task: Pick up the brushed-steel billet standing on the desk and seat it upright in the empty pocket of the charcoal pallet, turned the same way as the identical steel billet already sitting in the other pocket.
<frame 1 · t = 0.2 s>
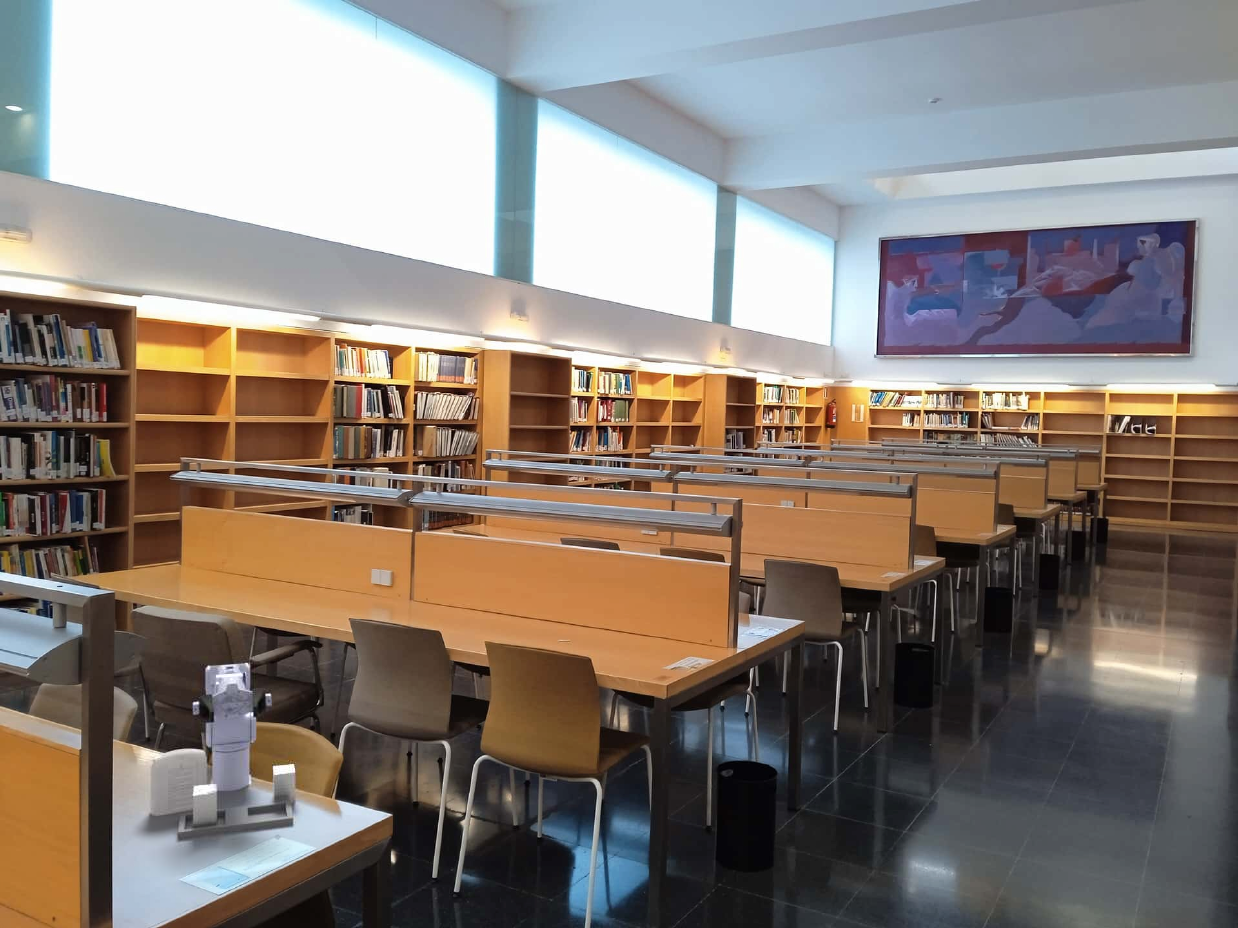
hand: (233, 714, 186), 21 cm above the table, tool horizontal, fingers open, 7 cm apart
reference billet: (205, 825, 183), resting on pallet
billet: (283, 803, 197), on the table
white tombstone slab: (179, 813, 192), on the table
pallet: (236, 826, 185), on the table
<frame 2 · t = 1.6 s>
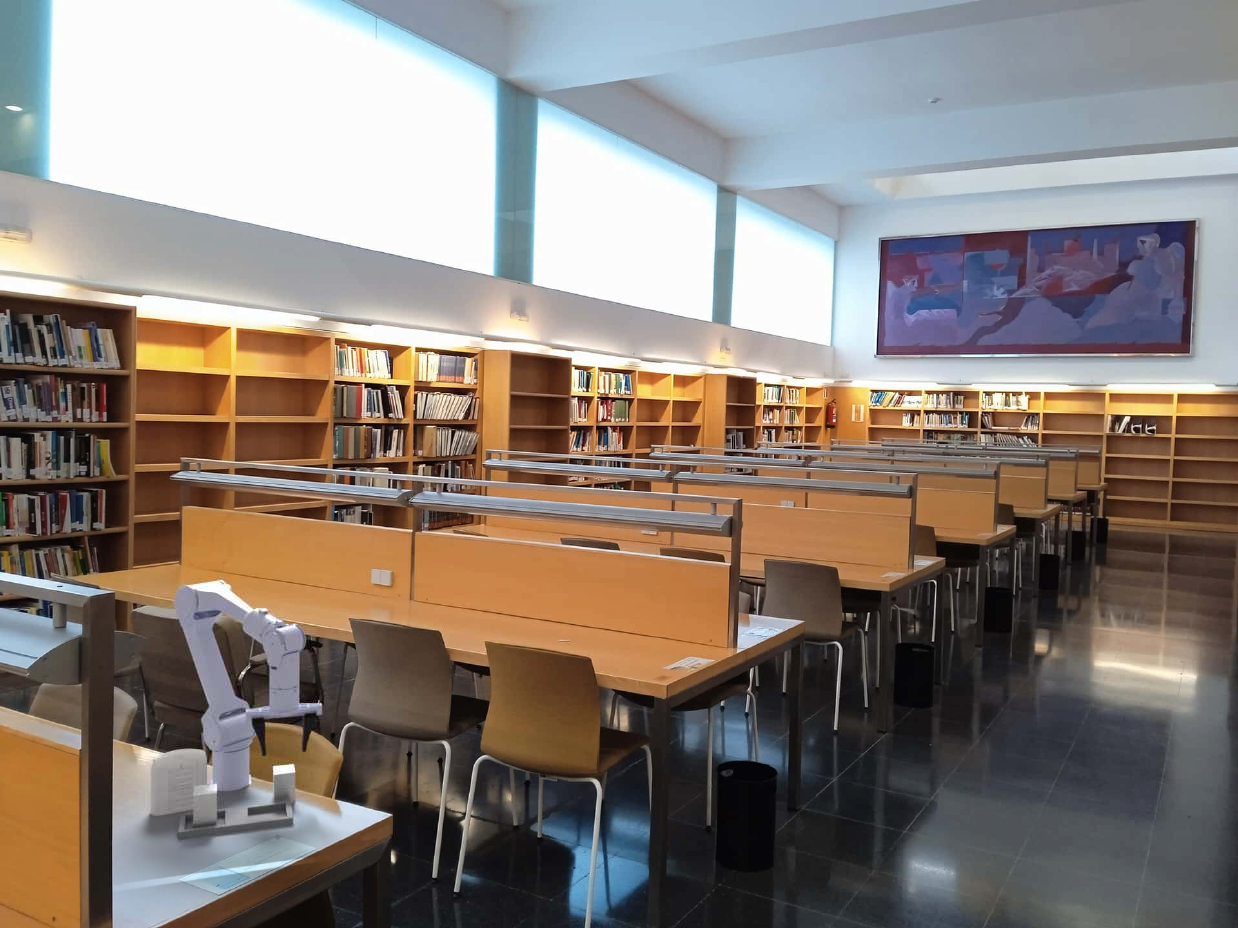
hand: (284, 752, 197), 10 cm above the table, tool pointing down, fingers open, 7 cm apart
nothing on the table moved.
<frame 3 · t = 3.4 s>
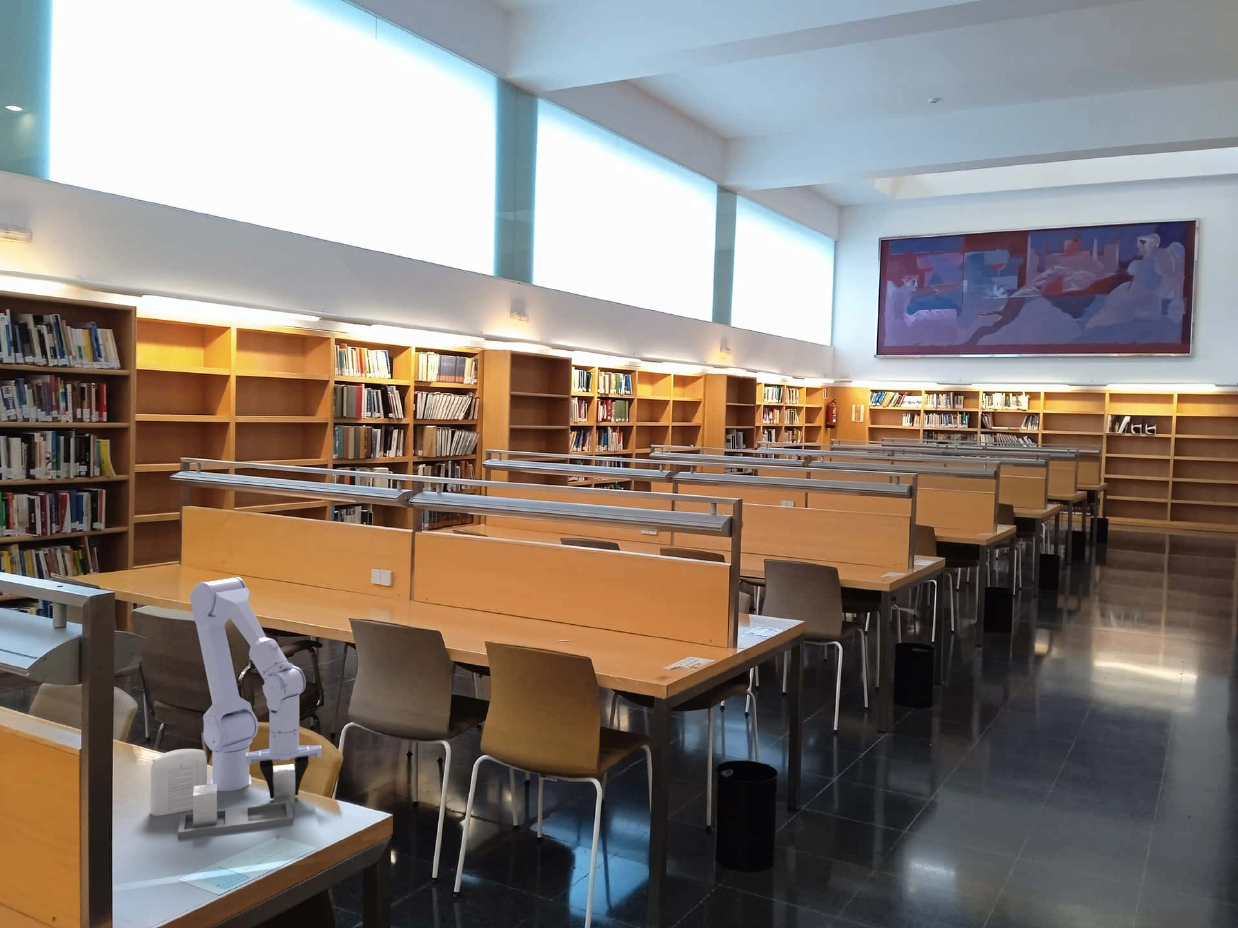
hand: (283, 795, 197), 2 cm above the table, tool pointing down, fingers closed on billet, 4 cm apart
billet: (283, 802, 197), on the table, touching gripper
everything else where it was.
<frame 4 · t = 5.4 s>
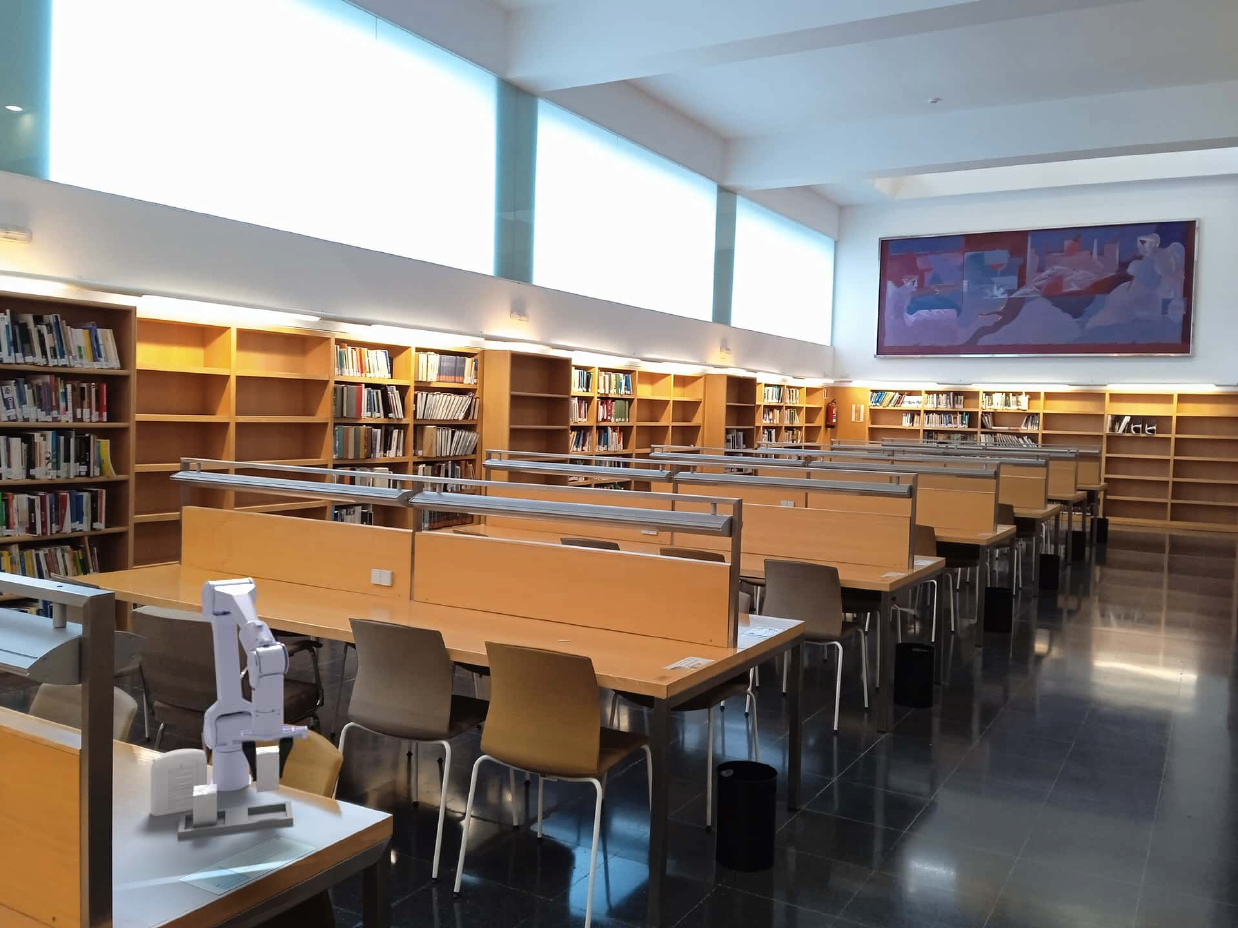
hand: (267, 778, 187), 9 cm above the table, tool pointing down, fingers closed on billet, 4 cm apart
billet: (267, 786, 187), point 7 cm above the table, touching gripper
everything else where it was.
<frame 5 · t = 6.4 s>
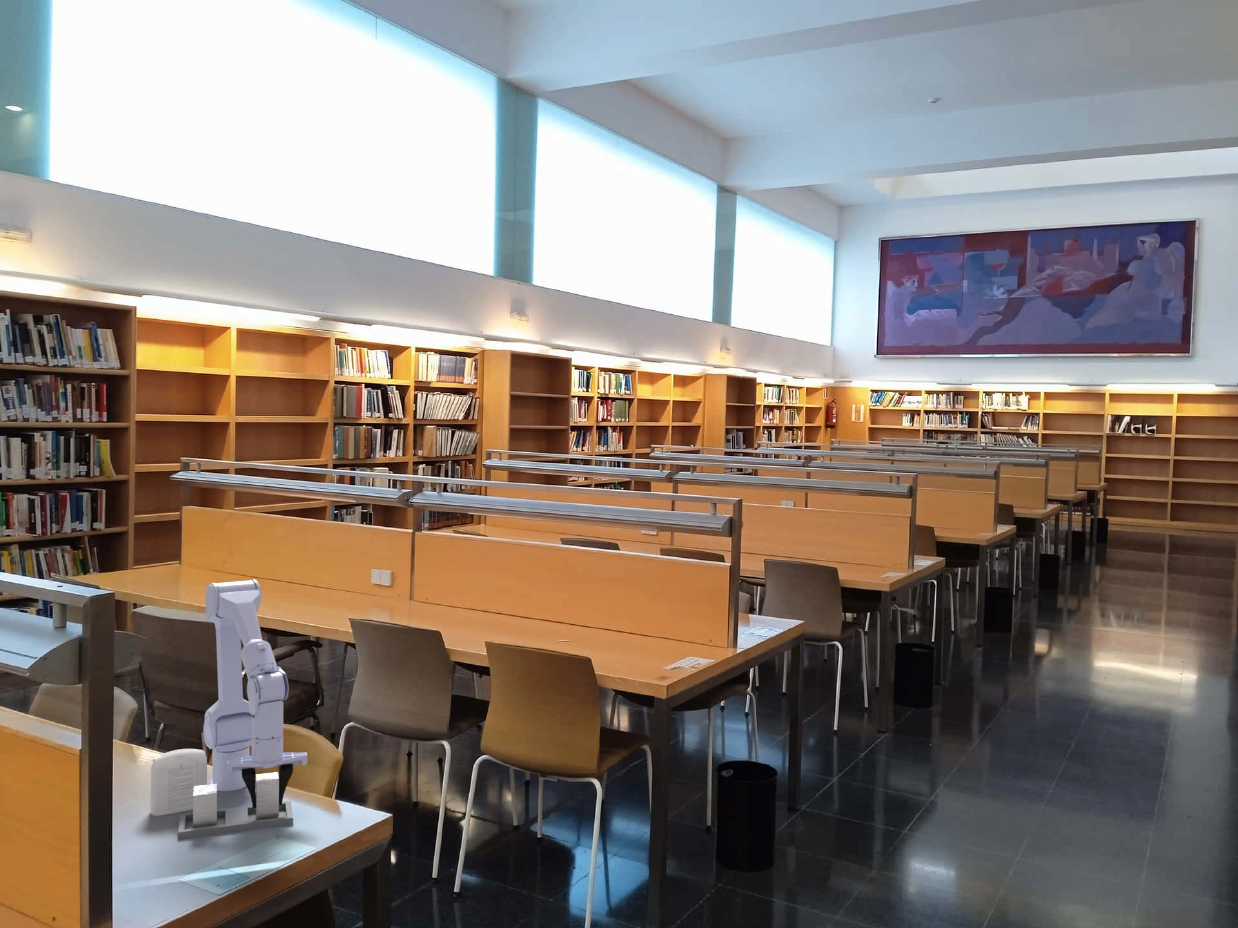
hand: (267, 804, 187), 3 cm above the table, tool pointing down, fingers closed on billet, 4 cm apart
billet: (267, 813, 187), point 2 cm above the table, touching gripper
everything else where it was.
when the fingers open (3 cm above the table, at t = 7.2 s): billet stays where it is, resting on pallet.
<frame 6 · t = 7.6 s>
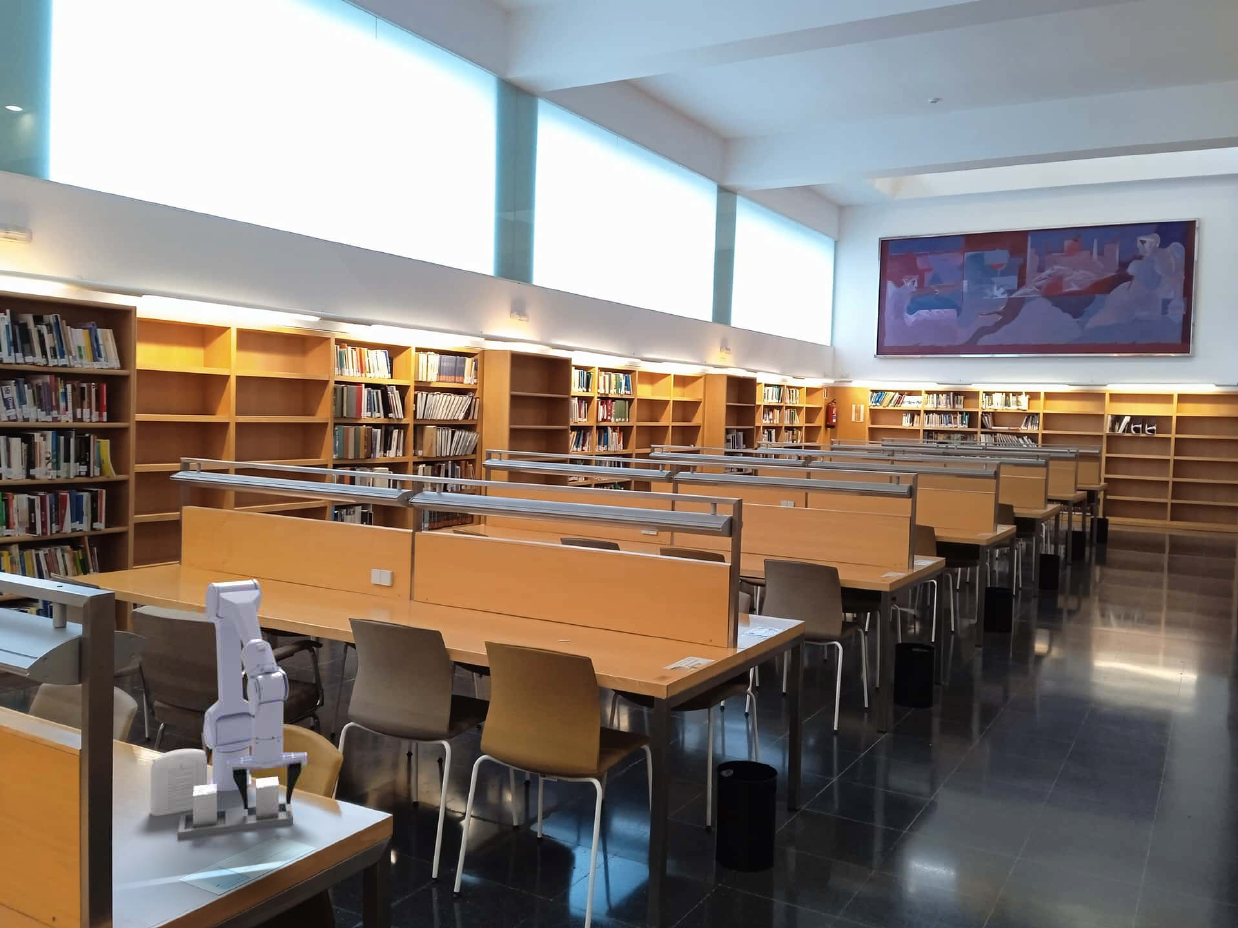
hand: (267, 804, 187), 3 cm above the table, tool pointing down, fingers open, 7 cm apart
billet: (267, 817, 187), point 1 cm above the table, touching pallet
everything else where it was.
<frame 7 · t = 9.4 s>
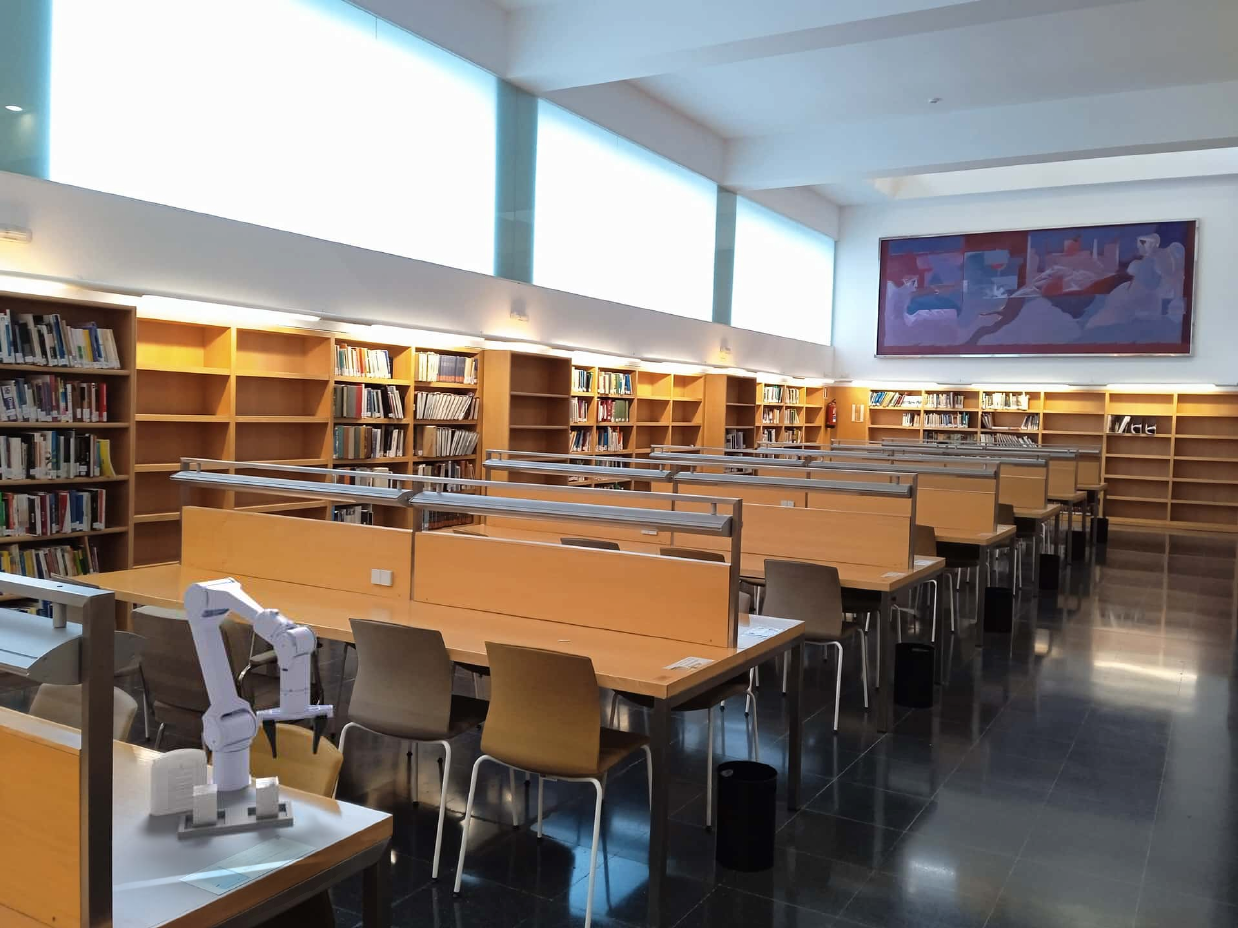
hand: (294, 754, 195), 10 cm above the table, tool pointing down, fingers open, 7 cm apart
nothing on the table moved.
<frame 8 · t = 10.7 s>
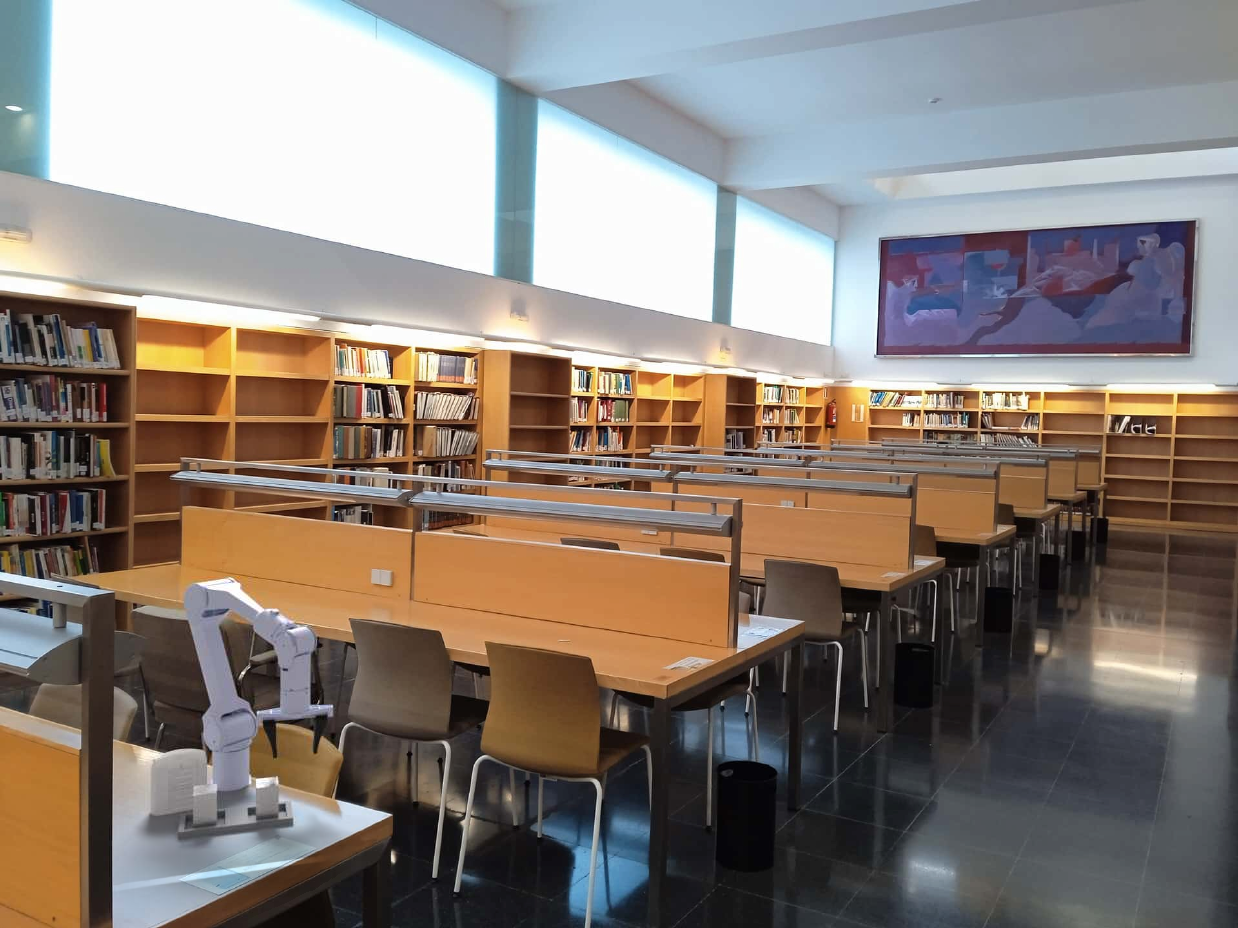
hand: (295, 754, 195), 10 cm above the table, tool pointing down, fingers open, 7 cm apart
nothing on the table moved.
at the end: billet 0.1 cm from the target spot on the pallet, point 0.8 cm above the pallet's base; billet tilted 0°; the gripper is holding nothing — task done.
